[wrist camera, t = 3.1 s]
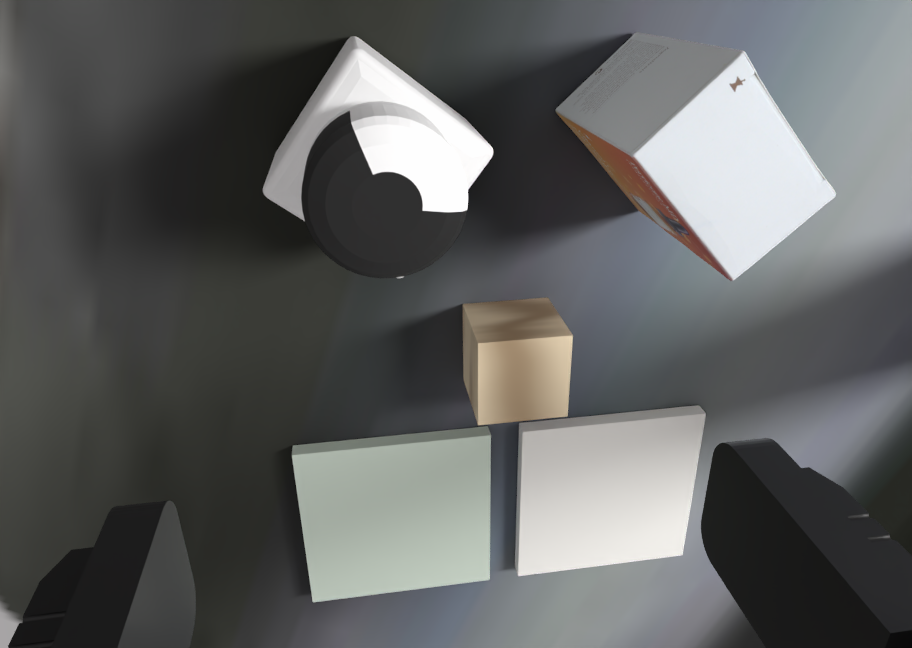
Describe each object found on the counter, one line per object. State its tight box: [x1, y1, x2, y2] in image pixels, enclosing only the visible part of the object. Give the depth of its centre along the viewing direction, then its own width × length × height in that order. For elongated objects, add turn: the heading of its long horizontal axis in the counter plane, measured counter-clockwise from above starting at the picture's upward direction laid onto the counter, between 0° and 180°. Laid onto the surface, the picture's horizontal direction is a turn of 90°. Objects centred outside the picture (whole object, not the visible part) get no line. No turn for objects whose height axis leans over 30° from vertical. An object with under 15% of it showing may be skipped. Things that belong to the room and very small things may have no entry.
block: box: [463, 298, 573, 425], centre depth 40 cm, size 5×5×5 cm
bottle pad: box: [292, 426, 491, 602], centre depth 46 cm, size 12×12×1 cm
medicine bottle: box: [263, 36, 493, 278], centre depth 30 cm, size 7×7×12 cm
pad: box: [515, 405, 706, 576], centre depth 47 cm, size 12×12×1 cm
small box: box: [555, 32, 836, 281], centre depth 33 cm, size 8×6×10 cm
